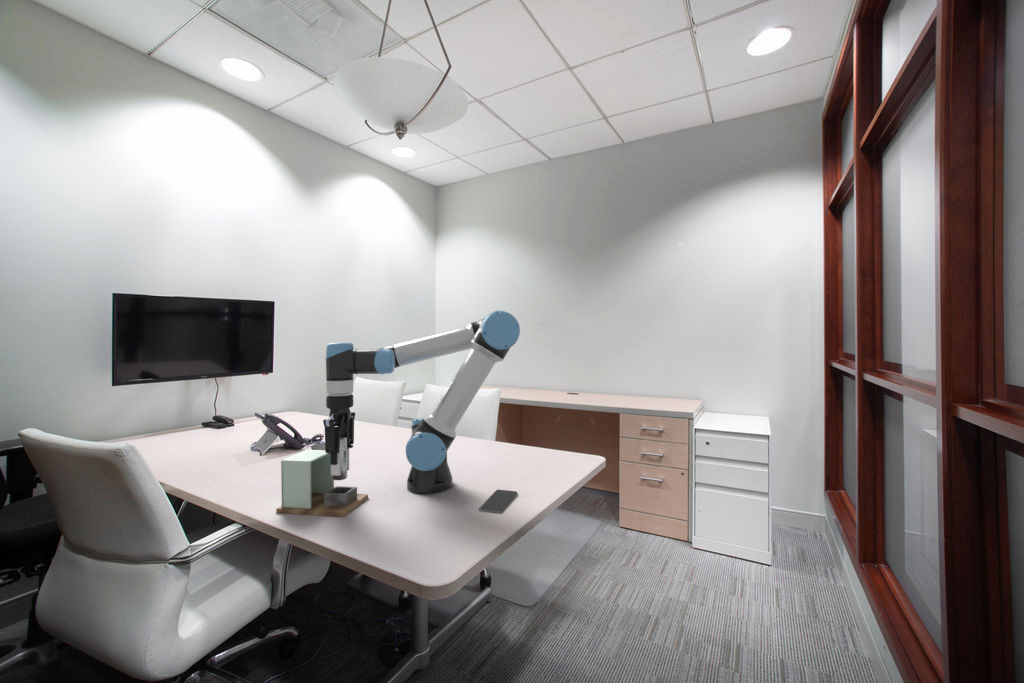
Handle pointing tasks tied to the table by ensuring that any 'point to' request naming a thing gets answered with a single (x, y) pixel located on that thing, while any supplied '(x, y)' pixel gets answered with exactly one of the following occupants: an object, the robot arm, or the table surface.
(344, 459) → the stub
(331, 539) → the table surface
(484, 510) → the smartphone
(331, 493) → the board
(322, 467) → the cover
